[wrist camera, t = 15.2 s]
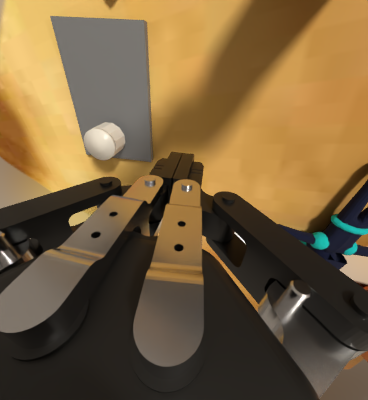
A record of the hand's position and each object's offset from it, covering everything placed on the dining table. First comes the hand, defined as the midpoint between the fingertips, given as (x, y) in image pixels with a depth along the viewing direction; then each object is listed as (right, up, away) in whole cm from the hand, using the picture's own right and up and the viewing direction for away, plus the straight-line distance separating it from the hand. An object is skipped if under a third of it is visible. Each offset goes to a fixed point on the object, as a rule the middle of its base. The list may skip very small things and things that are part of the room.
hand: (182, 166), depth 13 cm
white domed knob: (-15, +11, +27) cm, 33 cm away
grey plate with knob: (-15, +18, +26) cm, 35 cm away
